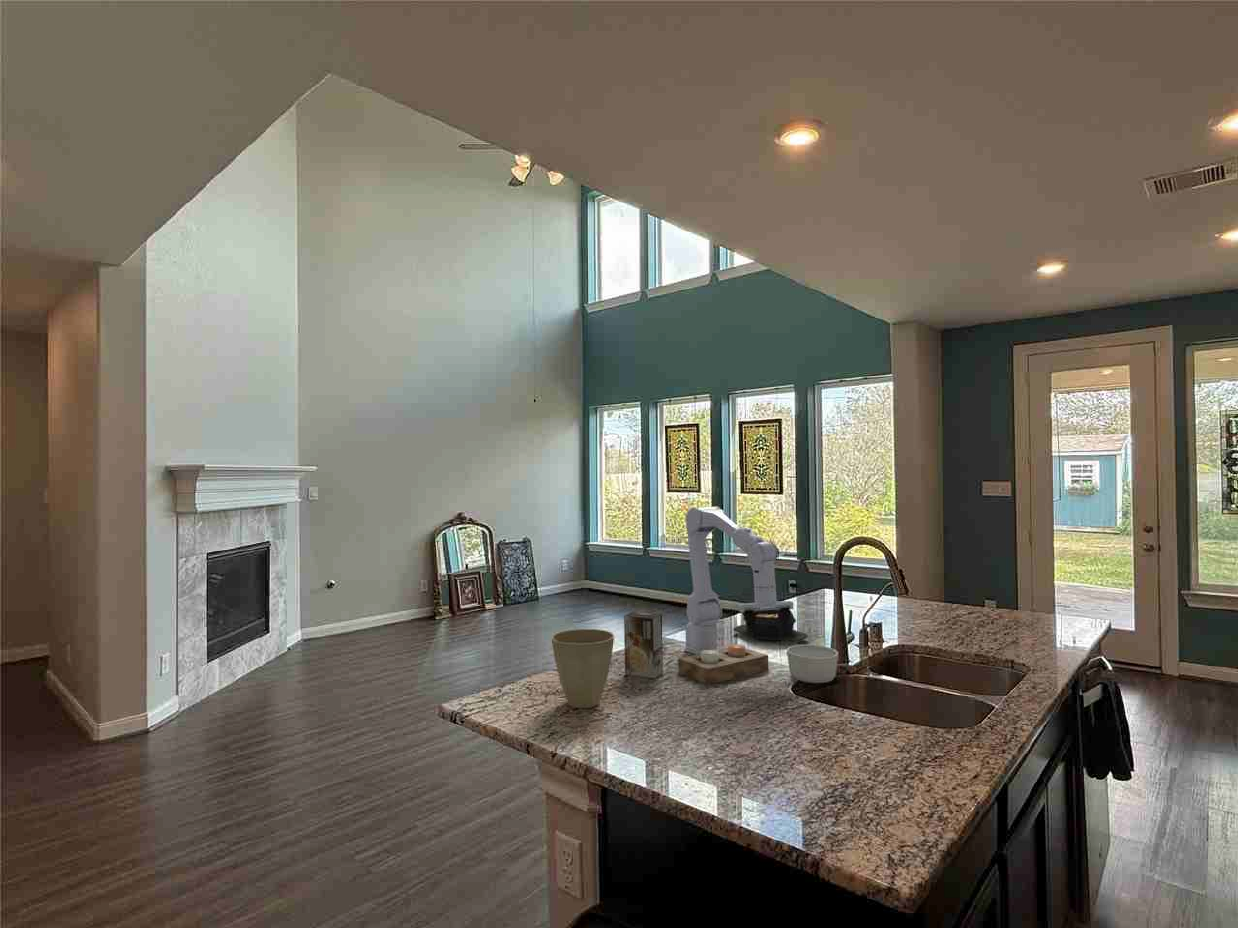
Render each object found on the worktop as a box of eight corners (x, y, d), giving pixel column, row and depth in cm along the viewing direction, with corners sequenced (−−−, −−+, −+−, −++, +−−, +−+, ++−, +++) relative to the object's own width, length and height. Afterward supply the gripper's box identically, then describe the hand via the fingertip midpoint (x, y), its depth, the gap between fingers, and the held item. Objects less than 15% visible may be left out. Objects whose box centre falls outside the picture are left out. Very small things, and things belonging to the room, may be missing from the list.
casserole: (721, 636, 216) (721, 611, 216) (753, 627, 229) (753, 603, 229) (788, 650, 198) (788, 623, 199) (818, 639, 212) (818, 613, 212)
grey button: (697, 664, 176) (697, 651, 176) (710, 661, 179) (710, 648, 179) (709, 668, 172) (708, 655, 172) (722, 665, 175) (722, 652, 175)
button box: (678, 672, 177) (678, 658, 177) (737, 659, 190) (737, 645, 190) (708, 684, 167) (707, 669, 167) (768, 669, 180) (768, 655, 180)
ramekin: (841, 686, 165) (841, 658, 165) (788, 683, 168) (787, 656, 168) (835, 670, 178) (834, 645, 178) (785, 668, 181) (785, 643, 181)
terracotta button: (724, 658, 182) (724, 645, 182) (737, 655, 185) (737, 643, 185) (736, 662, 178) (736, 649, 178) (749, 659, 181) (749, 647, 181)
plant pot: (621, 695, 160) (621, 630, 160) (604, 717, 146) (603, 645, 146) (564, 690, 164) (564, 626, 164) (542, 711, 150) (541, 641, 150)
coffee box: (664, 672, 178) (663, 613, 178) (654, 679, 172) (653, 618, 172) (634, 668, 182) (633, 610, 182) (623, 674, 176) (623, 615, 177)
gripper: (742, 589, 172) (745, 642, 171) (796, 586, 173) (799, 638, 172) (735, 586, 179) (738, 637, 178) (787, 583, 180) (790, 633, 179)
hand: (768, 637), depth 175 cm, fingers open, 7 cm apart
